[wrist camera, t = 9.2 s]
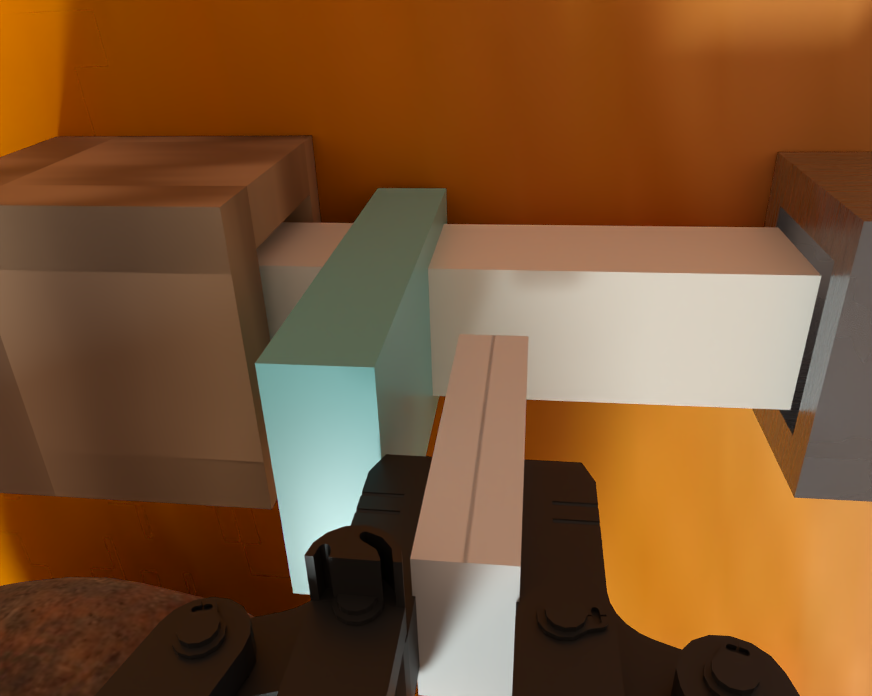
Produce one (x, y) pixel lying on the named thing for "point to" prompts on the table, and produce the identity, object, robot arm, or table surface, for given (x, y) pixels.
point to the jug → (75, 631)
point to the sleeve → (828, 325)
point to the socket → (141, 314)
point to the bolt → (502, 331)
